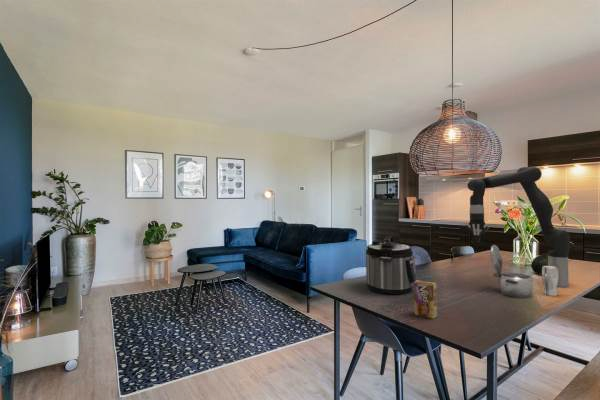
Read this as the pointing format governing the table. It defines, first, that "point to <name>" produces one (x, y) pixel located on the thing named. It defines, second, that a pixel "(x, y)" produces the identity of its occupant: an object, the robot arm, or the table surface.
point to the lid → (496, 258)
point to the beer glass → (550, 280)
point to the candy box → (425, 299)
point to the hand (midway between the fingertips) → (477, 241)
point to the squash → (539, 263)
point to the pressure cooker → (390, 267)
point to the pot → (515, 284)
